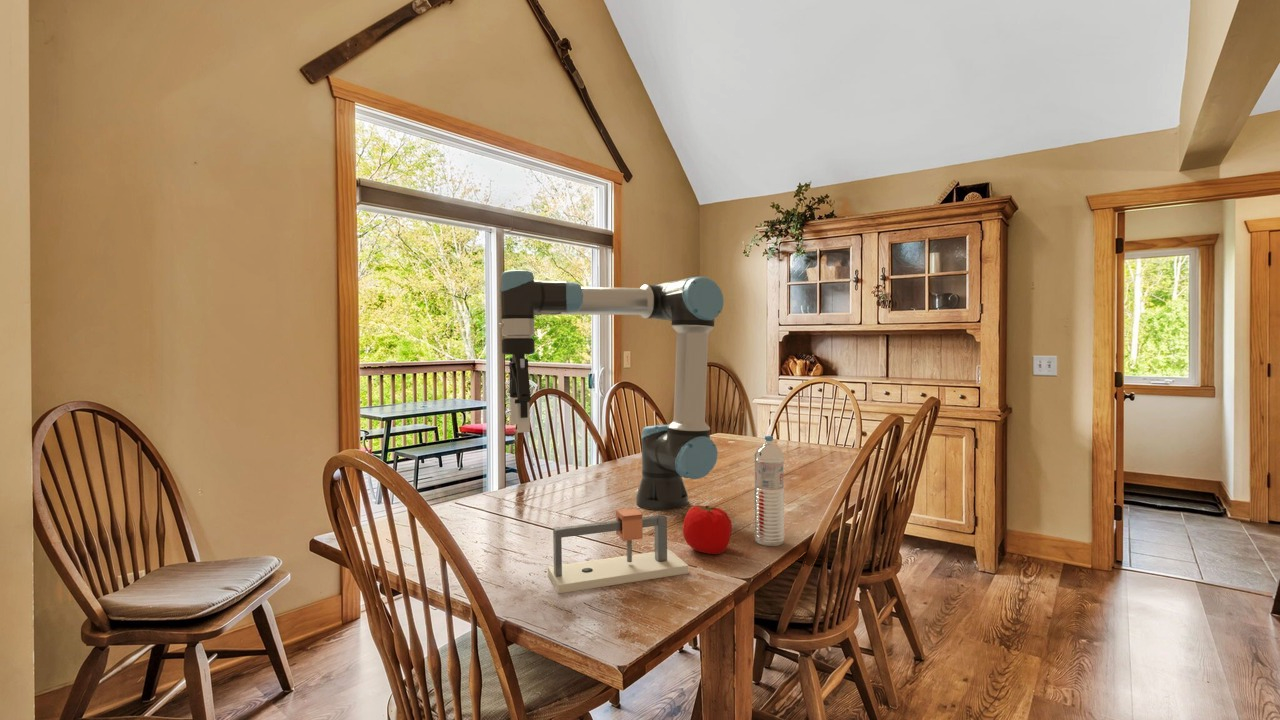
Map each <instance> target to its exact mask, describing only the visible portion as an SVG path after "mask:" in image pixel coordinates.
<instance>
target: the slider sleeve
mask: <svg viewBox="0 0 1280 720" xmlns="http://www.w3.org/2000/svg"><path fill="white" fill-rule="evenodd" d="M642 517H643V514H642V512H640V511H639V510H638V509H636V508H635V507H631V508H630V507H628V508H620V509H616V510H615V521H616V520H622V530H619V531H615V532H616V533H615V534H616V535H617V536H618V537H619V538H620V539H621V540H622V541H623V542H626V556H627V562H632V555H633V553H632V552H633V549H632V547H633V546H632V545H633V542H632V541H635V540H636V541H637V540H642V539H643V528H642Z"/></svg>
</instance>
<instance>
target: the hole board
mask: <svg viewBox="0 0 1280 720" xmlns="http://www.w3.org/2000/svg"><path fill="white" fill-rule="evenodd" d="M686 574H689V564H687V563H686V562H684V560H682V559H681V558H680V557H678V555H676V554H675V553H674V552H673V551H671V550H670V549H667V561H661V562H658V561H657V560H656V559H655V551H649V552H644V553H643V552H642V553H635V554H632V562H627V555H622V556H621V555H620V556H613V557H608V558H607V557H606V558H600V559H594V560H593V559H592V560H586V561H579V562H578V561H577V562H572V563H562V576H560V577H556V576H555V575H554V565H549V566H547V575H548V577H549V579H550V581H551V583H552V584H553V587H554V588H555V590H556V592H557V593H558V594H562V593H569V592H577V591H582V590H590V589H595V588H602V587H608V586H609V587H610V586H614V585H621V584H627V583H634V582H642V581H647V580H653V579H660V578H665V577H672V576H678V575H679V576H680V575H686Z"/></svg>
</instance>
